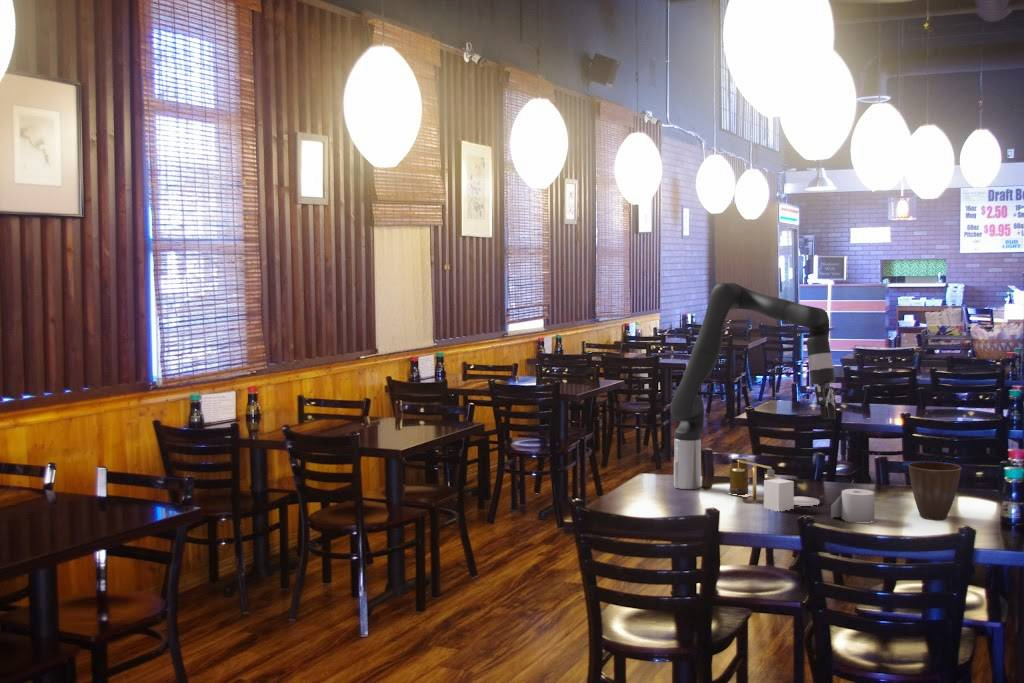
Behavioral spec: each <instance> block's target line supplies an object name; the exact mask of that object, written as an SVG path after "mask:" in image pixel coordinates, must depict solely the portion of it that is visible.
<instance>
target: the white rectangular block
mask: <svg viewBox="0 0 1024 683" xmlns="http://www.w3.org/2000/svg"><path fill="white" fill-rule="evenodd" d="M794 485H795V482H794V481H793V480H789V479H784V478H779V477H777V478H776V479H764V480H763V497H764V503H763V509H766V510H769V509H770V511H773V510H774V511H773V512H777V511H778V513H779V511H781V512H786V511H785V510H787V511H791V510H790V509H793V510H794V509H795V508H794V507H795V506H794V497H795V496H794V495H795V493H794V492H795V491H794V490H795V488H794V487H795V486H794Z"/></svg>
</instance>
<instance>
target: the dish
mask: <svg viewBox="0 0 1024 683" xmlns="http://www.w3.org/2000/svg"><path fill="white" fill-rule="evenodd" d="M818 504H819V505H820V499H818V498H816V497H810V496H809V497H808V496H797V495H796V496H794V505H799V506H798V507H801V506H811V507H814V506H813V505H817V506H819V505H818Z"/></svg>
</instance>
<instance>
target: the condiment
mask: <svg viewBox="0 0 1024 683" xmlns="http://www.w3.org/2000/svg"><path fill="white" fill-rule="evenodd" d="M738 460H742V461H746V462H748V460H747V459H746V458H731V461H730V462H731V464H730V465H731V466H730V468H729V493H731V494H737V495H745V494H748V493H749V468H748V464H745V463H741V462H739V468H742V469H745V471H744V472H735V471H732V469H733V468H738Z"/></svg>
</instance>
